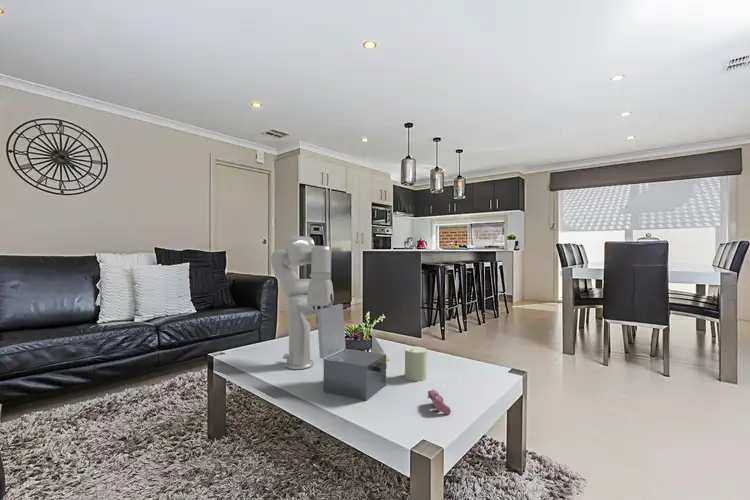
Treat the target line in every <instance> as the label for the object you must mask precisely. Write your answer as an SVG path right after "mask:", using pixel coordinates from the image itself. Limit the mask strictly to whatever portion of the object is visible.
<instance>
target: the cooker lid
mask: <svg viewBox="0 0 750 500" xmlns="http://www.w3.org/2000/svg"><path fill="white" fill-rule="evenodd" d="M344 317H345V316H344V304H343V303H339V304H333V308H331V307H325V308H321V309H317V315H316V323H317V322H318V324H317V335H318V338H317V339H318V349H319V359H325V358H327V357H329V356H331V355H333V354H336V353H338V352H340V351H342V350H344V349H347V345H346V331H345V330H346V329H345V318H344Z"/></svg>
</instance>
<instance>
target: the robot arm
mask: <svg viewBox="0 0 750 500" xmlns="http://www.w3.org/2000/svg"><path fill="white" fill-rule="evenodd" d="M282 246H283V249H277V250H274V251H273V252H272V254H271V256H270V263H271V268H272V270H273V272H274V273H275V275H276V277H277V279H279V281H280V284H281V286H282V289H283V292H284V295H285V297H286V298H287V301H286V310H287V316H288V353H284V355H283V356H282V359H284V360H286V362H285V363H284V365H285V367H286V368H287V369H289V370H305V369H309V368H311V367H313V366H314V364H315V363H314V360H313V359H311V325H310V322H309V321H308V320H307V319H306V317H309V316H317V309H321V308H325V307H331V308H333V306H334V297H335V296H334V287H333V282H332V280H331V247H329V246H328V245H316V244H315V241H314V239H313V238H312V236H311V237H310V236H305V235H304V236H303V235H302V236H301V235H292V236H291V235H290V236H288V237H286V238H285V239H284V241H283V243H282ZM306 264H307V265H310V264H311V265H310V266H311V267H310V269H311V270H310V272H311V273H309V278H299V276H298V274H297V272H296V271H295V270H294V269H293V268H291V267H301V266H305V265H306ZM316 324H317V325H318V322H317V321H316Z"/></svg>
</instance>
